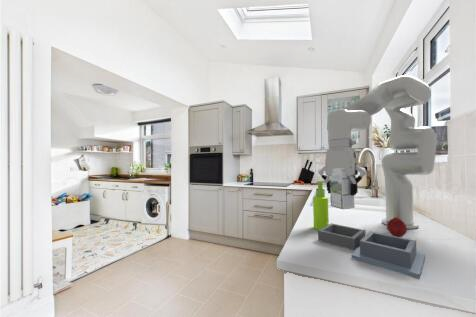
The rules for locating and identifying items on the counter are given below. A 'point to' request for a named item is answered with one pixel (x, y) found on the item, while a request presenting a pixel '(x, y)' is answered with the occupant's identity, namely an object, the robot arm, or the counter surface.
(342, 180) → the syrup box
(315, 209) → the soap dispenser
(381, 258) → the frame
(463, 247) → the counter surface
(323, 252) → the counter surface
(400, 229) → the onion
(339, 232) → the grey square tray
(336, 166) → the robot arm
